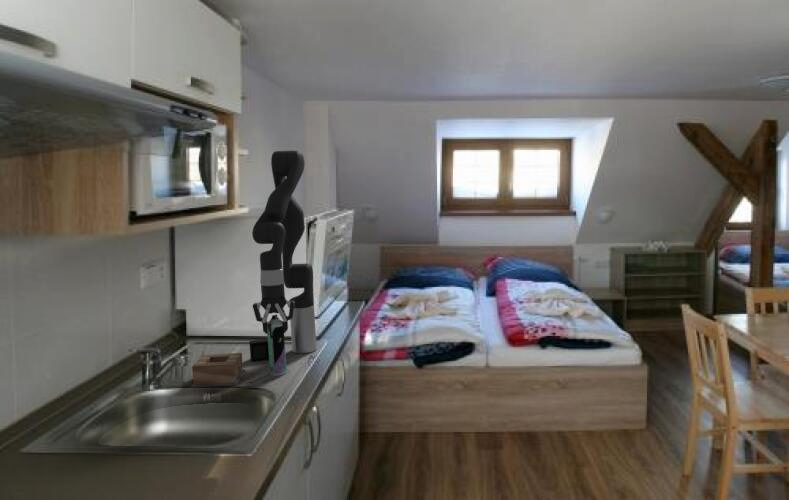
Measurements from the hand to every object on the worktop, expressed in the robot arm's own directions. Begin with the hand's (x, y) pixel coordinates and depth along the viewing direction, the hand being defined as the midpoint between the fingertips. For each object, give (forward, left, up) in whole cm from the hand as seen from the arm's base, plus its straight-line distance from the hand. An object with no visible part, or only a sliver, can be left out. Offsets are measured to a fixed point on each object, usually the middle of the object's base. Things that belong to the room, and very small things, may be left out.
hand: (275, 332), depth 203 cm
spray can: (0, 0, -14) cm, 14 cm away
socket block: (+3, -19, -14) cm, 24 cm away
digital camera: (-18, -7, -14) cm, 24 cm away
